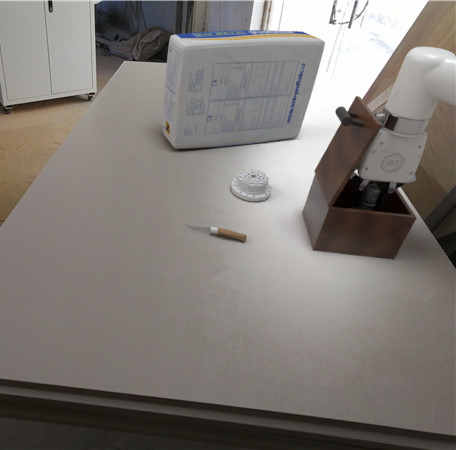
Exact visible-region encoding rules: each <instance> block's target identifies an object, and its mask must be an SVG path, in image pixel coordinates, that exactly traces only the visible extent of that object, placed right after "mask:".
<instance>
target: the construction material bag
mask: <svg viewBox="0 0 456 450" xmlns="http://www.w3.org/2000/svg"><path fill="white" fill-rule="evenodd" d="M325 46H326V41H325V40H323V39H321V38H319V37H316V36H314V35H312V34H309V33H307V32H304V31H301V30H300V31H299V30H265V29H264V30H261V29H260V30H258V29H257V30H256V29H253V30H252V29H251V30H247V29H246V30H245V29H244V30H239V29H237V30H218V31H203V32H188V33H176V34H172V35H170V37H169V42H168V48H167V49H168V50H167V59H166V69H165V77H164V79H165V80H164V90H163V110H162V111H163V112H162V134H163V135H164V137H166V139H167V140H168V142H169V143H170V144H171V145H172V147H173V148H174V149H177V150H179V149H181V150H183V149H199V148H200V149H202V148H217V147H231V146H241V145H250V144H259V143H266V142H273V141H279V140H280V141H281V140H286V139H293V138H297V137H298V136H299V135H300V132H301V129H302V125H303V123H304V120H305V116H306V113H307V110H308V106H309V103H310V100H311V97H312V93H313V91H314V87H315V83H316V80H317V76H318V74H319V73H318V72H319V69H320V65H321V62H322V58H323V54H324V50H325Z"/></svg>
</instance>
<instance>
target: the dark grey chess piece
mask: <svg viewBox="0 0 456 450" xmlns="http://www.w3.org/2000/svg"><path fill="white" fill-rule="evenodd" d="M376 184H377V182H375V183H374V184H369V185H367V186H366V187H365V190H366V194H365V196H364V198H363V201H362V203H361V205H360V207H356V208H350V209H357V210H367V211H372V209H373V207H374V206H375V205H377V202H376V200H377V198H378V195H379V193H380V188H379V187H378V186H377V185H376Z"/></svg>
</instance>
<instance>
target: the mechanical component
mask: <svg viewBox="0 0 456 450" xmlns="http://www.w3.org/2000/svg"><path fill="white" fill-rule="evenodd" d="M269 178H270V177H268V176H267V174H266V173H264V171H260V170H254V169H251V168H250V169H247V170H246V169H244V170H241V171H239V173H238V174H237V177H235V178H234V179H233V180H232V181H231V184H230V190H231V192H232V194H233V195H235V196H236V197H237V198H240V199H241V200H243V201H250V202H262V201H263V202H264V201H265V200H267V199H269V198H270V197H271V194H272V190H273V189H272V186H271V185H270V184H269V183H270V182H269V181H270V180H269Z"/></svg>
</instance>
